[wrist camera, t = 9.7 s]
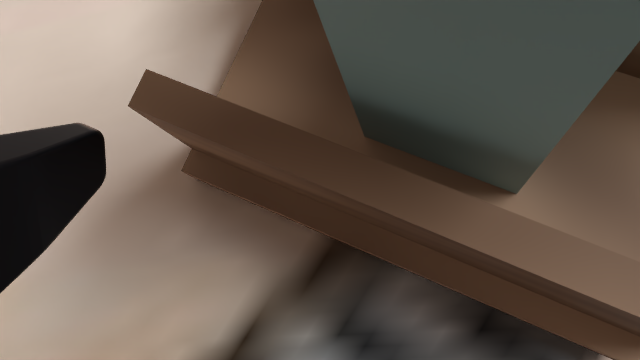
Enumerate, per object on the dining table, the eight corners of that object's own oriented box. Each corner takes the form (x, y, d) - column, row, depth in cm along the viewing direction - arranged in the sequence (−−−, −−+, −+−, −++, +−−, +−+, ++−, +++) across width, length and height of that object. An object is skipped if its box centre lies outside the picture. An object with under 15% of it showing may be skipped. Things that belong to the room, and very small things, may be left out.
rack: (645, 373, 16) (743, 404, 11) (193, 177, 19) (113, 134, 14) (754, 69, 17) (888, -27, 12) (308, -65, 20) (270, -182, 15)
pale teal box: (516, 193, 16) (828, -197, 4) (364, 136, 17) (193, -318, 5) (555, 95, 16) (968, -578, 4) (404, 45, 18) (343, -607, 5)
